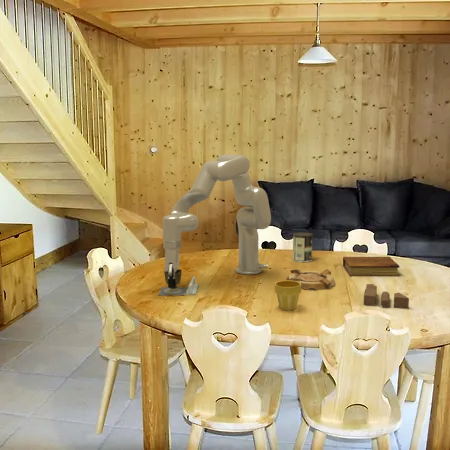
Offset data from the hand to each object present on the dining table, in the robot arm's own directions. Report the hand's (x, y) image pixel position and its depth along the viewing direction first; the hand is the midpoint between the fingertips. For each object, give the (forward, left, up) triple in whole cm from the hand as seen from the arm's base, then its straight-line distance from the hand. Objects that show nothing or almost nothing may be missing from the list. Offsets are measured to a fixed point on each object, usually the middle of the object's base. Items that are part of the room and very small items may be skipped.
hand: (173, 284), depth 237 cm
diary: (-91, -37, -4) cm, 98 cm away
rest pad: (0, 0, -3) cm, 3 cm away
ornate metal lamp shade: (0, 0, -2) cm, 2 cm away
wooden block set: (-88, +9, -4) cm, 89 cm away
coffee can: (-60, -58, -3) cm, 83 cm away
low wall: (-8, -3, -3) cm, 9 cm away
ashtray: (-60, -16, -4) cm, 62 cm away
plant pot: (-48, +19, -3) cm, 52 cm away
